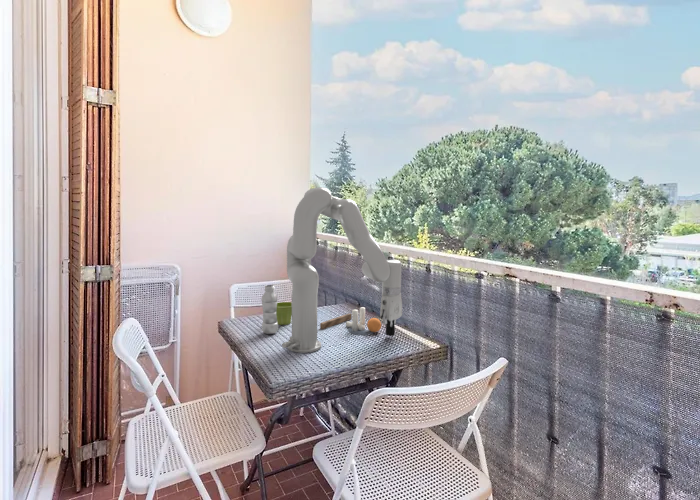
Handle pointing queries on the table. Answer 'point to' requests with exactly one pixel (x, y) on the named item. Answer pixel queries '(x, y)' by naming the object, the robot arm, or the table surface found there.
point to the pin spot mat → (360, 332)
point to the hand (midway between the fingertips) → (390, 334)
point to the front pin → (360, 327)
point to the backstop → (335, 321)
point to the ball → (374, 325)
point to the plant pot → (284, 313)
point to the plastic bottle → (269, 310)
